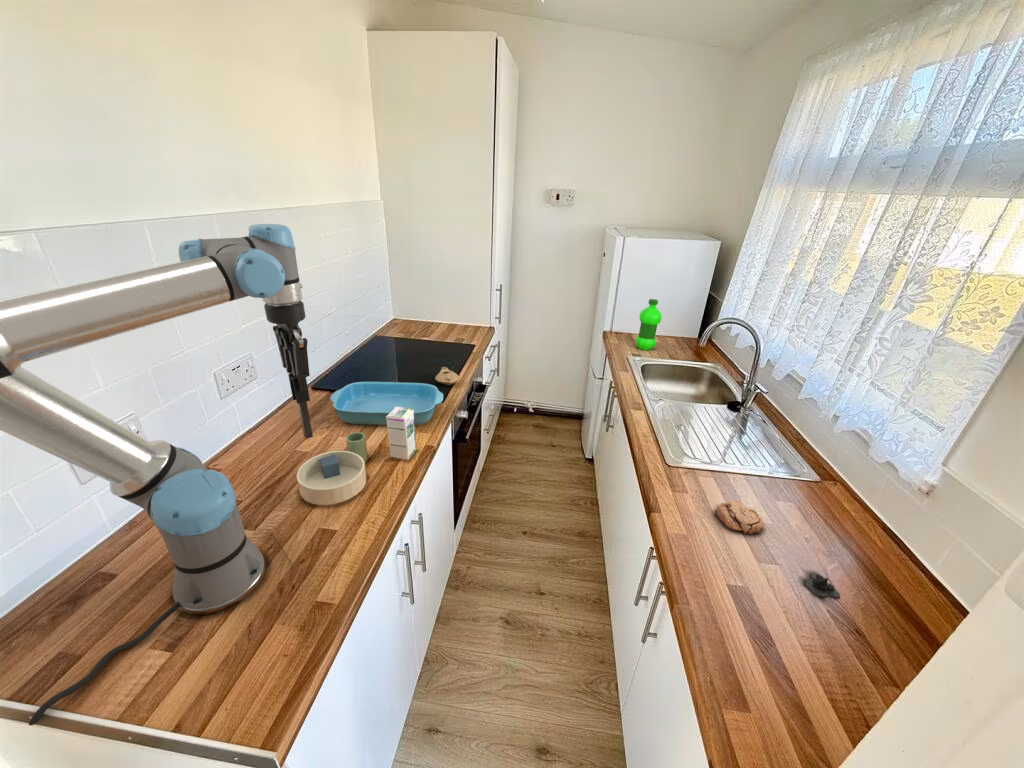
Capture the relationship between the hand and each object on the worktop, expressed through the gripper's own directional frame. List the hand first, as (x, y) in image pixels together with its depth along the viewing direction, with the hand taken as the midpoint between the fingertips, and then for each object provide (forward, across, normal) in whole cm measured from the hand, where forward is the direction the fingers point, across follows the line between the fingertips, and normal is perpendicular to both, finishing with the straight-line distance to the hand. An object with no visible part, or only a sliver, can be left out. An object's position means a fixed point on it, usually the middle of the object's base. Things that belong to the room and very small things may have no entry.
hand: (301, 399), depth 101 cm
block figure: (+25, -101, -63) cm, 122 cm away
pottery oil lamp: (+25, +28, -64) cm, 75 cm away
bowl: (+25, -3, -3) cm, 26 cm away
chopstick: (+10, 0, 0) cm, 10 cm away
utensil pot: (+25, +3, -13) cm, 29 cm away
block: (+25, +2, -5) cm, 25 cm away
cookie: (+25, -82, -71) cm, 112 cm away
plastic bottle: (+25, -4, -164) cm, 166 cm away
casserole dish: (+25, +21, -34) cm, 47 cm away
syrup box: (+26, -3, -24) cm, 35 cm away
